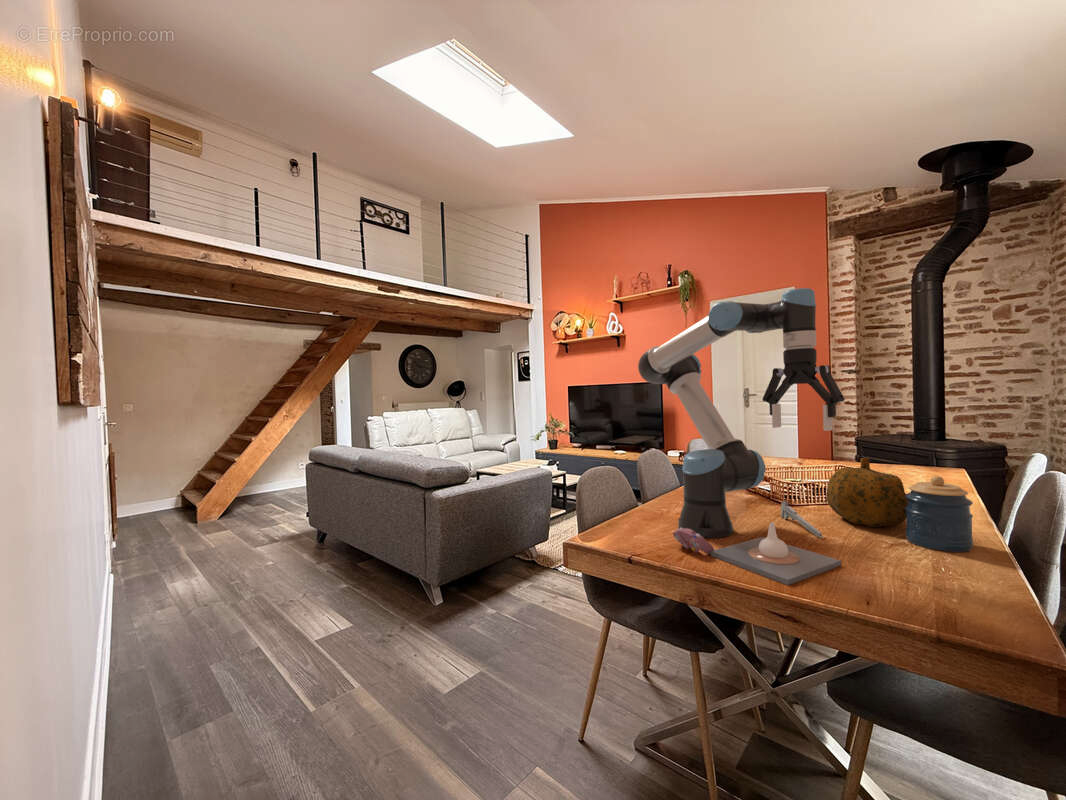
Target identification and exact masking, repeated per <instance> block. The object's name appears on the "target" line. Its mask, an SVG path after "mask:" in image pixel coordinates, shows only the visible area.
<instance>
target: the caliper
mask: <svg viewBox="0 0 1066 800" xmlns="http://www.w3.org/2000/svg"><path fill="white" fill-rule="evenodd" d="M780 518H781V519H783V520H784V519H788V520H789V519H791V521H797V522H798V523H799V524H800V525H801V526H803V527H804V529H806V530H807V531H809V532H810V533H811V534H812V533H813V534H812V535H813V536H815V535H816V536H815V537H817V536H818V537H817V538H819V537H821V538H823V537H824V538H826V537H825V536H824V535H823V533H822V532H821V531H820V530H818V529H817V528H816V527H814V525H812V524H811V523H810V522H808V521H807V520H806V519H805V518H803V517H802V516H800V514H798V513H797V511H796V510H795V509H793V507H791V506H790V505H789V502H788V501H787V499H783V500H782V502H781V505H780ZM821 538H820V539H821Z"/></svg>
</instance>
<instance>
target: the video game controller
mask: <svg viewBox="0 0 1066 800" xmlns="http://www.w3.org/2000/svg"><path fill="white" fill-rule="evenodd" d="M672 533H673V534H672V535H673V537H674V539H675V540H676V541H677V542H679V544H680V545H682V547H683V548H684V549H686V550H689V549H691V552H693V553H696V554H698V553H699V552H700V551H701V552H703V553H704V554H707V555H711V551H713V550H715V549H714V546H713V545H712V544H711V543H709V542H708V541H707V540H706V539H705V537H702V536H700V534H698V533H696V532H694V531H693V530H691V529H688V528H684V529H683V528H682V527H680V529H679V528H677V529H675V531H673V532H672Z"/></svg>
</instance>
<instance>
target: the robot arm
mask: <svg viewBox="0 0 1066 800" xmlns="http://www.w3.org/2000/svg"><path fill="white" fill-rule="evenodd" d="M816 307H817V303H816V295H815V291H814V289H812V288H809V287H808V288H806V287H802V288H794V289H789V290H786V291H784V292H783V293H782V295H781V300H779V301H777V302H771V303H766V304H765V303H763V304H762V303H751V302H750V303H749V302H738V301H737V302H736V301H730V300H729V301H719V302H717V303H715V304H714V305H712V307H711V309H710V310H709V311H708V315H707V316H705V317H704V318H702V319H701V320H700V321H698V322H696V323H695V324H693V325H692V326H690V327H688V328H687V329H685V330H683V331H682V332H680V333H678V335H676V336H674V337H672V338H671V339H669V340H668V341H666V342H665V343H663V344H661V345H660V346H659V345H655V346H653V347H651V348H649V349H648V350H646V351H645V352H644V353H643V354H642V355H641V356H640V358H639V360H638V363H637V369H638V373H639V375H640V377H641V378H642V379H643V380H644V381H646V382H647V383H649V384H654V385H666V387H667V388H668V390H669V392H670V393H671V394H673V395H677V397H678V398H679V400H680V402H681V404H682V406H683V407H684V409H685V411H686V413H687V414H688V416H689V418H690V420H691V421H692V423H693V425H694V426H695V428H696V430H697V431H698V433H699V435H700V437H701V438H702V440H703V442H704V444H705V445H706V449H698V450H693V451H689V452H688V453H686V454H685V455H684V456H683V459H682V461H683V463H682V464H683V465H682V468H681V469H682V477H683V478H682V479H683V481H682V485H683V505H682V509H681V511H680V517H679V518H678V521H677V522H678V525H677V526H678V529H680V527H682V528H683V529H684V528H688V529H691V530H693V531H694V532H696V533H698V534H700V536H702V537H703V538H711V539H715V538H716V539H718V538H719V539H720V538H725V537H730V536H731V535H732V534H733V532H734V526H733V522H732V520H731V517H730V514H729V511H728V509H727V505H726V504H727V501H726V497H727V496H726V495H727V493H729V492H735V491H740V490H741V491H743V490H744V491H745V490H749V489H752V488H755V487H758V486H759V485H760V484H761V483H762V481H763V480H764V478H765V472H766V463H765V461H764V459H763V457H762V456H761V454H760V453H759V452H757V451H755V450H753V449H748V447H747V446H746V445H745V442H743V440H741V439H738V438H735V436H734V435H733V434H732V432H731V430H730V428H729V427H728V426H727V424H726V423H725V421H724V419H723V418H722V416H721V414H720V413H719V411H718V410H717V407H716V406H715V405H714V403H713V401H712V400H711V398H710V397H709V395H708V394H707V392H706V390H705V389H704V387H703V385H702V384H701V379H702V374H701V373H702V369H701V367H702V365H701V362H700V359H699V358H698V357H697V356H696V355H695V353H698V352H699V351H701V350H703V349H704V348H707V347H708V346H710V345H711V344H713V343H716V342H717V341H719V340H721V339H723V338H725V337H727V336H729V335H730V334H732V333H734V332H738V331H739V332H740V331H742V332H744V331H745V332H747V333H749V334H761V333H763V332H764V333H765V332H770V331H775V330H782V344H783V345H782V347H783V349H785V350H783V353H782V355H783V356H782V357H783V364H784V368H781V367H777V368H773V369H772V376H771V378H770V381H769V383H768V385H767V387H766V390H765V392H764V394H763V397H762V401H763V402H764V403H765V402H766V403H768V404H769V415H770V416H771V418H772V419H771V420H772V422H771V423H772V428H774V429H776V428H782V409H781V405H782V404H781V403H780V400H781V399H782V398H783V396H784V395H785V394H786V393H787V391H788V390H789V389H790V388H791V387H792V386H793V385H798V384H799V385H801V384H803V385H804V384H808V386H810V387H811V389H813V390H814V392H816V393H817V395H818V396H819V397H820V398H821V399H822V400H823V402H825V404H822V416H823V417H822V418H823V419H822V420H823V421H822V422H823V423H822V426H823V431H824V432H825V431H827V432H829V431H833V429H834V424H833V423H834V421H833V419H834V418H836V416H837V410H836V409H837V407H836V406H837V404H839V403H841V402H842V403H843V402H845V397H844V395H843V393H842V392H841V389H840V388H839V386H838V384H837V382H836V381H835V379H834V377H833V376H832V374H831V367H830V365H829V364H828V365H827V364H825V365H824V364H821V365H820V366H817V359H818V358H817V348H815V347H816V346H817V328H816V311H817V310H816ZM816 374H818V375H819V376H820V377H821V379H822V381H823V383H824V385H825V387H824V385H823V384H822V383H821V381H820V380H819V379H818V377H816ZM783 376H785V377H784V378H783V380H782V377H783ZM781 380H782V381H781ZM779 384H780V385H779ZM826 388H827V389H826Z"/></svg>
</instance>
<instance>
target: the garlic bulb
mask: <svg viewBox="0 0 1066 800" xmlns="http://www.w3.org/2000/svg"><path fill="white" fill-rule="evenodd" d="M775 524H776V523H775V522H769V525H768V530H767V531H768V532H767V537H764V538H765V539H763V540H762V541H761V542H760V543H759V551H760V553H761V554H762V555H764V556H767V557H770V558H784V557H786V556H787V555H788V548H787V545H786V544H787V543H785V542H784V541H783V540H781V539H780V538H778V535H777V532H776V531H777V530H776V525H775Z"/></svg>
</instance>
